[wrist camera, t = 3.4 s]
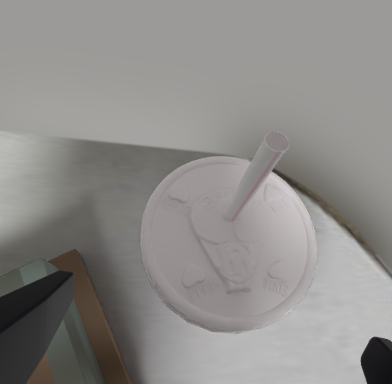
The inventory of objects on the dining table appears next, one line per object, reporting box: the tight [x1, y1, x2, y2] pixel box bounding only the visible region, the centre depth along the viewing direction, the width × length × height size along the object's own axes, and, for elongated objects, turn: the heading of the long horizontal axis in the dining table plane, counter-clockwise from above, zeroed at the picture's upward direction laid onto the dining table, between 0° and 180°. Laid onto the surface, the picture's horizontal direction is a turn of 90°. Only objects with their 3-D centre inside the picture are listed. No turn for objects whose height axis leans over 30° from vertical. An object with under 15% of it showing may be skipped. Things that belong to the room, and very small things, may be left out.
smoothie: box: [140, 131, 318, 334], centre depth 12 cm, size 6×6×14 cm
